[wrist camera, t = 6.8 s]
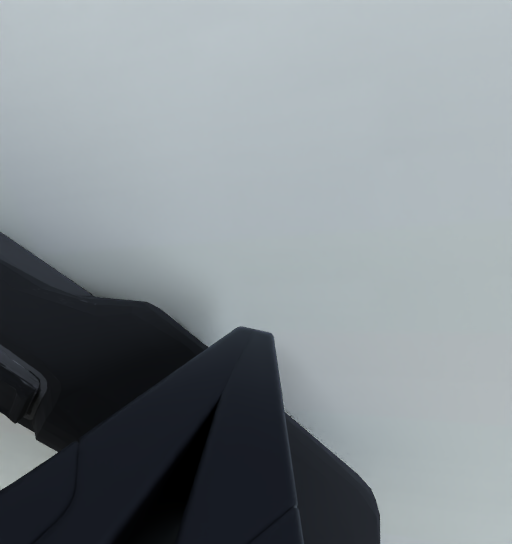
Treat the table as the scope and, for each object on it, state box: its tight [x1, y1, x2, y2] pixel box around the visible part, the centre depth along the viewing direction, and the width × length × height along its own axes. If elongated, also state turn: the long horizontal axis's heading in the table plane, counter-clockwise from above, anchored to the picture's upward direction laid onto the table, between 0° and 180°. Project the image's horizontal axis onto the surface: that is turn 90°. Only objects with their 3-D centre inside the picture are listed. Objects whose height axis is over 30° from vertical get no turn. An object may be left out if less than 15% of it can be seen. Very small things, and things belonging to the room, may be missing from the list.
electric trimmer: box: [0, 232, 380, 544], centre depth 8 cm, size 4×16×3 cm, turn 57°
